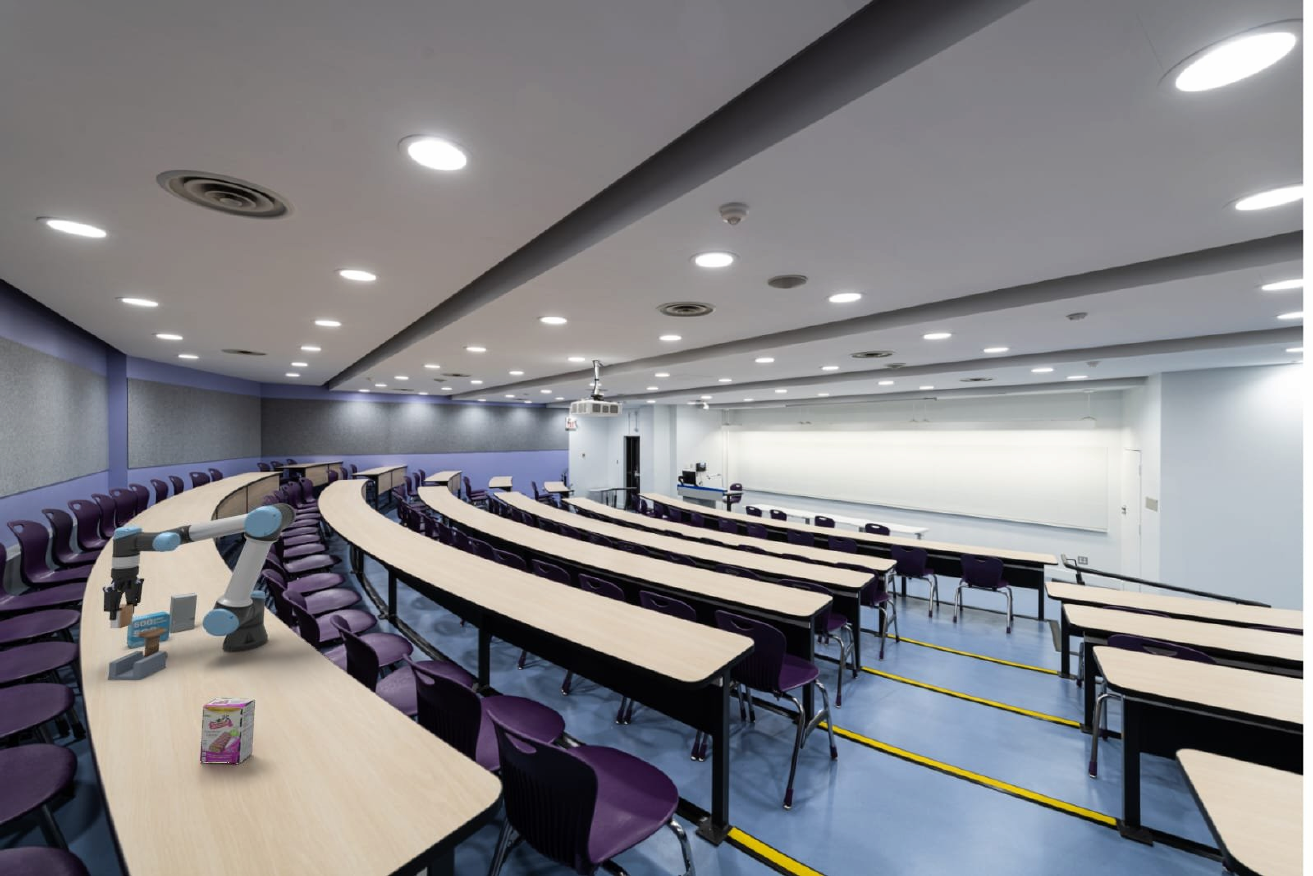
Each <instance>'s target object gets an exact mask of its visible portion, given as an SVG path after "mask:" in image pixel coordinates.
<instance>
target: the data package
mask: <svg viewBox="0 0 1313 876" xmlns="http://www.w3.org/2000/svg"><path fill="white" fill-rule="evenodd" d="M169 614H170V613H167V612H166V611H158V612H154V613H149V614H145V615H144V614H143V615H139V616H134V617H133V618H132V624H131V625H129V626H127V630H126V631H127V634H126V635H127V636H126V644H127V646H128V647H130V648H132V649H136V648H140V647H145V639H146V638H139V637H138V635H139V633H140V632H143V631H146V630H149V629H155V628H166V629H167V633H165V634H163V635H160V641H159V643H162V642H165V641H167V640H168V639H169V637H170V631H169V628H170V615H169Z"/></svg>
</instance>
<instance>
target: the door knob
mask: <svg viewBox="0 0 1313 876" xmlns="http://www.w3.org/2000/svg"><path fill="white" fill-rule="evenodd" d="M165 633H167V629H166V628H155V629H149V630H146V631H143V632H140V633H139V635H138V637H139V638H146V639H145V646H144V654H143V659H144V658H146V657H148V656H150V655H153V654H155V653H157V652H159V651H160V642H159V641H160V635H163V634H165ZM167 657H168V652H167V651H166V658H167Z"/></svg>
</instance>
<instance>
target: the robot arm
mask: <svg viewBox="0 0 1313 876" xmlns="http://www.w3.org/2000/svg"><path fill="white" fill-rule="evenodd" d="M296 517H297V513H296V510H295V508H294V507H293V506H292V505H289V504H287V503H284V502H280V503H273V504H270V505H263V506H259V507H258V508H255V509H253V510H251V511H250V512H249V513H245V514H244V513H243V514H239V515H235V516H229V517H224V518H220V519H213V520H209V521H203V522H199V523H194V524H188V525H187V524H186V525H182V526H178V527H175V528H169V529H166V530H163V531H162V530H160V531H155V532H153V531H152V532H151V531H150V532H145V531H143V528H142V527H141V526H135V525H134V526H131V525H130V526H121V527H117V528H115V530H114V533H113V539H112V556H111V567H112V568H111V569H110V578H111V579H112V580H111V582H110V584H109V585H107V586H103V587H102V591H103V612H107V613H109V618H108V619H109V621H110V622H111V623H110V625H109V629H120V628H119V626H120V612H121V611H118V609H119V606H120V605H121V602H122V598H123V595H124V598H125V602H126V603H125V604H133V610H132V618H133V615H134V613H135V607H138V605H139V604H140V603H141V602H142V593H143V586H144V585H143V584H144V583H145V582H144V581H145V578H142V577H138V575H139V574H140V566H139V565H140V564H141V563H140V560H141V552H154V553H155V552H159V553H165V552H173V551H175V550H176V549H177V548H178V547H179V546H183V545H186V544H190V543H191V544H193V543H196V542H200V541H205V540H209V539H210V540H211V539H215V538H221V537H224V536H225V537H226V536H230V535H234V534H235V535H236V534H241V533H244V534H243V536H244V538H245V539H246V541H245V542H244V543H245V544H244V545H243V548H242V550H241V553H240V555H239V558H238V560H237V562H236V566H235V567H234V570H233V573H232V574H231V577H230V579H229V581H228V584H227V587H226V589H225V591H224V594H222V595H220V596H219V597H217V598H216V601H215V604H214V606H213V608H212V610H209V611H208V612H207V613H206V614H205V616H204V617H203V620H202V627H203V629H204V630H205V631H206V632H207V634H209V635H210V636H213V637H225V638H224V640H223V642H222V650H223V651H225V652H242V651H247V650H251V649H256V648H258V647H261V646H264V645H265V644H267V642H268V641H269V635H268V633H267V629H266V626H265V609H266V608H265V607H266V600H267V599H266V593H265V591H263V590H255V589H254V588H255V585H256V583H257V581H258V578H259V576H260V574H261V571H262V569H263V566H264V564H265V562H266V559H267V556H268V555H269V552H270V549H271V547H272V544H273V543H275V542H278V541H279V539H280V536H281V535H282V534H281V533H282V531H283V530H285V529H287V528H289V527H291V525H293V524H294V522H295V521H296Z"/></svg>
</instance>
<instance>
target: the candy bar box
mask: <svg viewBox="0 0 1313 876" xmlns="http://www.w3.org/2000/svg"><path fill="white" fill-rule="evenodd" d="M255 708H256V699H255V698H234V697H216V698H214V699H213V700H211V701H209V702H208V703H206V704H204V705H203V706H202V721H201V722H202V723H201V736H200V737H201V738H200V739H201V741H200V753H199V762H200V761H201V762H227V763H228V762H229V763H238V764H237V765H240V764H241V763H240V762H241V761H242V760H244V759H245V758H246V757H247V756H249V755H250V756H252V754H253V744H254V743H253V742H254V728H255V727H254V726H255V725H254V724H255V710H256V709H255ZM250 756H249V757H250ZM246 759H247V758H246ZM246 759H245V760H246ZM245 760H244V761H245ZM239 763H240V764H239Z"/></svg>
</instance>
